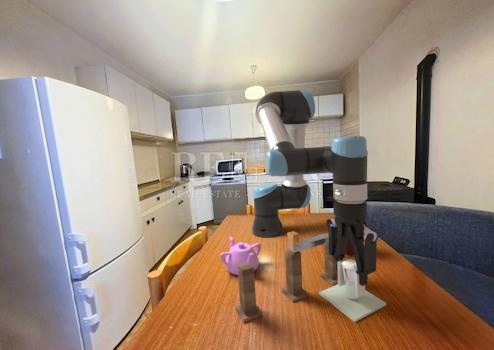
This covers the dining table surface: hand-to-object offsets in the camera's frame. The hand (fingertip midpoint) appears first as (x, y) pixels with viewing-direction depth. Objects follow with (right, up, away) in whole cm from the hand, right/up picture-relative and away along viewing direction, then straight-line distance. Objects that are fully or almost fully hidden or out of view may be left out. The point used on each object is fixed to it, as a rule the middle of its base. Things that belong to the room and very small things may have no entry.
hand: (350, 289), depth 55 cm
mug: (+10, 0, +24) cm, 26 cm away
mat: (0, -3, 0) cm, 3 cm away
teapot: (-28, -3, +19) cm, 34 cm away
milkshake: (0, -2, 0) cm, 2 cm away
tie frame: (-14, -3, +4) cm, 14 cm away
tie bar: (-7, +10, +6) cm, 13 cm away
